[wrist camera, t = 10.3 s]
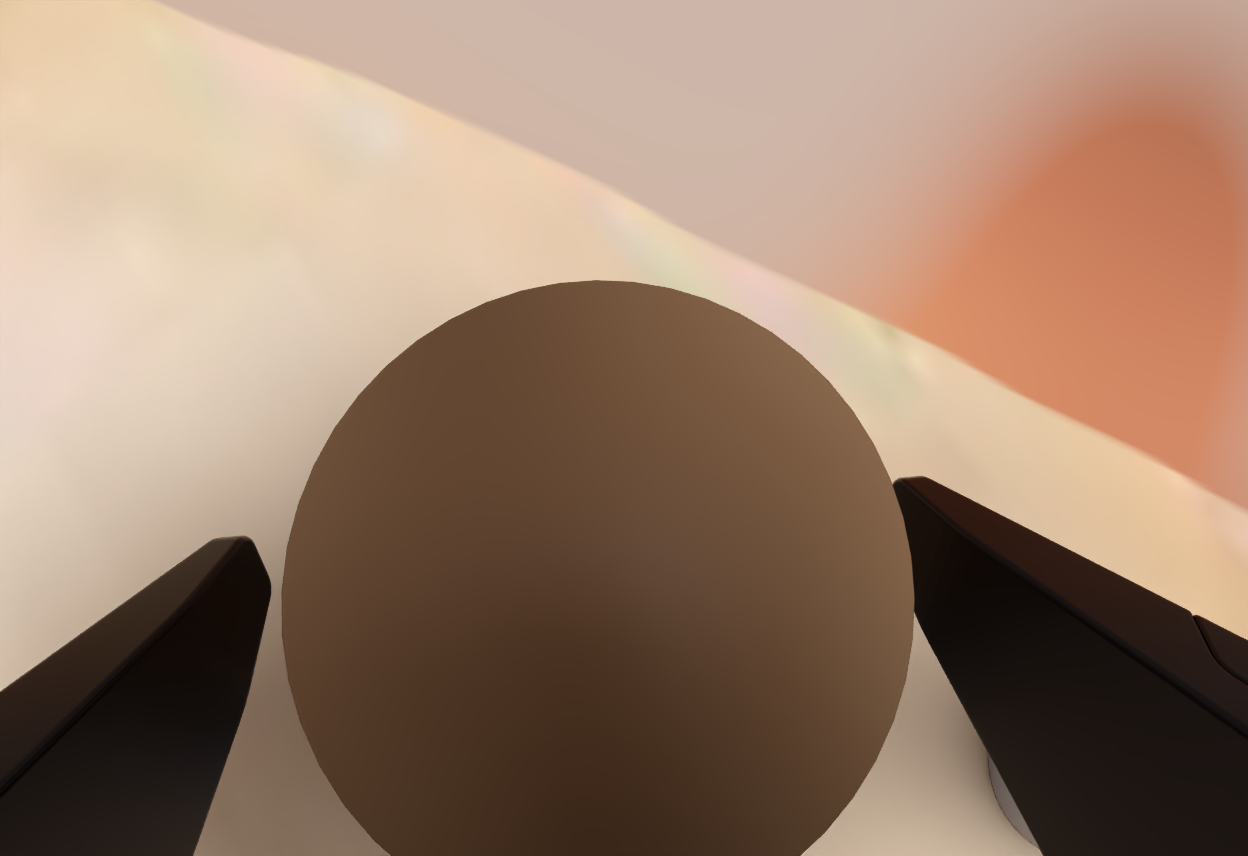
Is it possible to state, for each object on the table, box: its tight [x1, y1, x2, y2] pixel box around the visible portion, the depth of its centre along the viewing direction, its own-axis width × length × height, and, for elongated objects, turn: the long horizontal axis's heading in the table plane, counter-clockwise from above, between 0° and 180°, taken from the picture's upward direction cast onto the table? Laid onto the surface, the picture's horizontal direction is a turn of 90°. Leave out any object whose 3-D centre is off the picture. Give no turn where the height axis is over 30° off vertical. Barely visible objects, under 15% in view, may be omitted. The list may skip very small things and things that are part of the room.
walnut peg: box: [282, 280, 914, 856], centre depth 11 cm, size 4×4×13 cm
